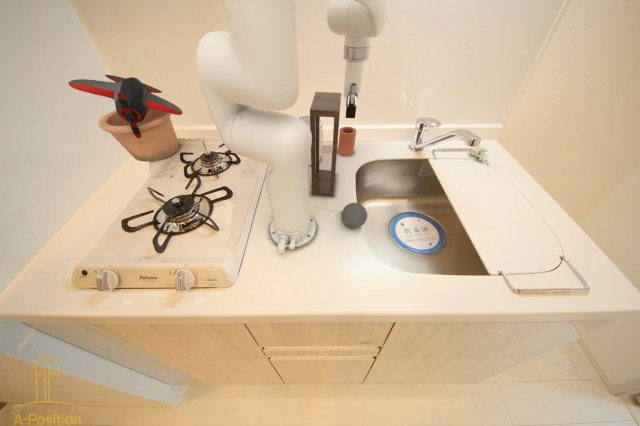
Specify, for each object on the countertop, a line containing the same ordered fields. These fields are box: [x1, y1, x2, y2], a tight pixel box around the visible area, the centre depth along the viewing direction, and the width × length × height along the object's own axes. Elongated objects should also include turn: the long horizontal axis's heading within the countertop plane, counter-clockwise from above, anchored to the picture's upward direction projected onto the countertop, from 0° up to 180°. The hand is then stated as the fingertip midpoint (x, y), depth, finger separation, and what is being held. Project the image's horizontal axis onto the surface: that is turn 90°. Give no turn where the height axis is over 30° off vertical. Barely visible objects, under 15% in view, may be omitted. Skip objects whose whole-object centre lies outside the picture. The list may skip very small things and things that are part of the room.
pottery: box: [98, 108, 181, 163], centre depth 82 cm, size 22×22×14 cm
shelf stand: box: [309, 91, 342, 197], centre depth 64 cm, size 12×7×27 cm, turn 174°
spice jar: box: [337, 126, 357, 157], centre depth 85 cm, size 6×6×9 cm
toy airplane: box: [68, 74, 184, 139], centre depth 70 cm, size 28×24×15 cm
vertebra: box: [470, 145, 489, 162], centre depth 83 cm, size 6×7×4 cm
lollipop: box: [311, 202, 368, 229], centre depth 62 cm, size 10×20×7 cm, turn 85°
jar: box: [296, 114, 324, 166], centre depth 79 cm, size 11×10×15 cm
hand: (350, 111), depth 77 cm, fingers open, 9 cm apart
